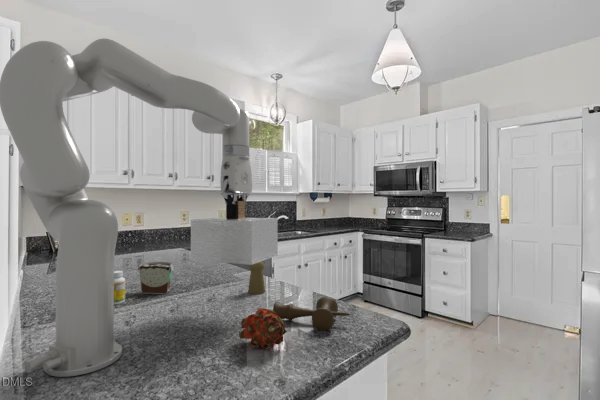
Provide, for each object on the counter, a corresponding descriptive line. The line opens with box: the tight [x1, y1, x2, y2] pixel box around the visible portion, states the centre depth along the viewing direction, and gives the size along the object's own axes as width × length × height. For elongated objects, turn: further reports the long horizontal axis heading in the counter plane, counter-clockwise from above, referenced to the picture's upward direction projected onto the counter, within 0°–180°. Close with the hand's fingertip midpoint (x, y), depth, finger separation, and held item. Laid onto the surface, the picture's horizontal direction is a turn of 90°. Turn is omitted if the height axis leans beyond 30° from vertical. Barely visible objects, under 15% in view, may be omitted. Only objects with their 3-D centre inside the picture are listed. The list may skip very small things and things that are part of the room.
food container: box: [137, 261, 174, 295], centre depth 114 cm, size 12×6×10 cm, turn 84°
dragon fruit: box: [238, 307, 288, 349], centre depth 71 cm, size 8×8×12 cm
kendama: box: [272, 296, 351, 331], centre depth 84 cm, size 6×10×20 cm
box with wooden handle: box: [190, 201, 279, 265], centre depth 91 cm, size 16×19×16 cm
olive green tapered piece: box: [247, 261, 266, 295], centre depth 113 cm, size 6×6×11 cm
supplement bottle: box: [114, 270, 126, 306], centre depth 101 cm, size 5×5×10 cm
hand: (235, 217), depth 91 cm, fingers closed on box with wooden handle, 3 cm apart
